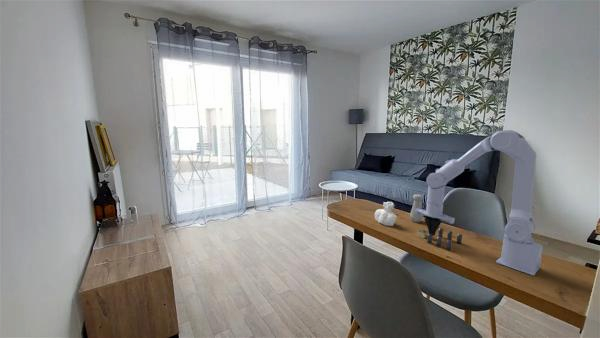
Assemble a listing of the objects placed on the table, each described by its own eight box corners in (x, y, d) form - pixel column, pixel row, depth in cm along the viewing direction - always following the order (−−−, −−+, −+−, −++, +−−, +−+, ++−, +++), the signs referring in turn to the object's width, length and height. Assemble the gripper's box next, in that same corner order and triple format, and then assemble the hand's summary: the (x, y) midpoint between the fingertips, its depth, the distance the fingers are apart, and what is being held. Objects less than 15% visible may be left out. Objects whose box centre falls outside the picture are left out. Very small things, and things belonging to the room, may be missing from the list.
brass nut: (432, 236, 103) (432, 231, 103) (427, 239, 100) (427, 234, 100) (420, 232, 107) (420, 227, 107) (414, 235, 104) (415, 230, 104)
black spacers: (462, 243, 97) (463, 234, 96) (449, 251, 91) (450, 241, 90) (439, 235, 104) (439, 227, 103) (426, 242, 98) (427, 233, 97)
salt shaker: (424, 223, 117) (426, 196, 115) (411, 222, 118) (413, 196, 116) (420, 219, 123) (423, 193, 121) (408, 218, 124) (410, 192, 122)
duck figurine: (396, 231, 113) (407, 210, 115) (388, 224, 109) (399, 202, 112) (376, 223, 123) (386, 203, 126) (367, 216, 120) (378, 196, 122)
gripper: (459, 205, 95) (455, 238, 97) (422, 197, 107) (419, 227, 109) (451, 208, 91) (447, 243, 93) (413, 199, 103) (410, 231, 105)
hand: (432, 235), depth 101 cm, fingers closed
